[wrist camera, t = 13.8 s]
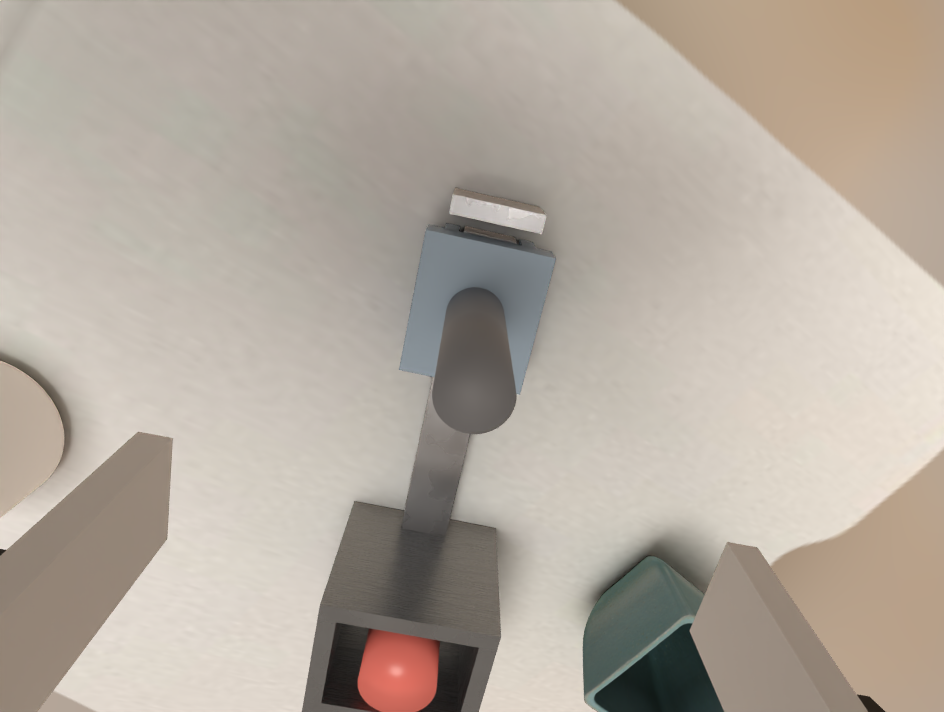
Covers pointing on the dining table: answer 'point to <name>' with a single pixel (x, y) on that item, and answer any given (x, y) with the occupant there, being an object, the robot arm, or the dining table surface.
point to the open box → (407, 607)
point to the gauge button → (398, 671)
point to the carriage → (475, 323)
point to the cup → (26, 436)
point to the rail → (437, 441)
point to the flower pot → (646, 646)
